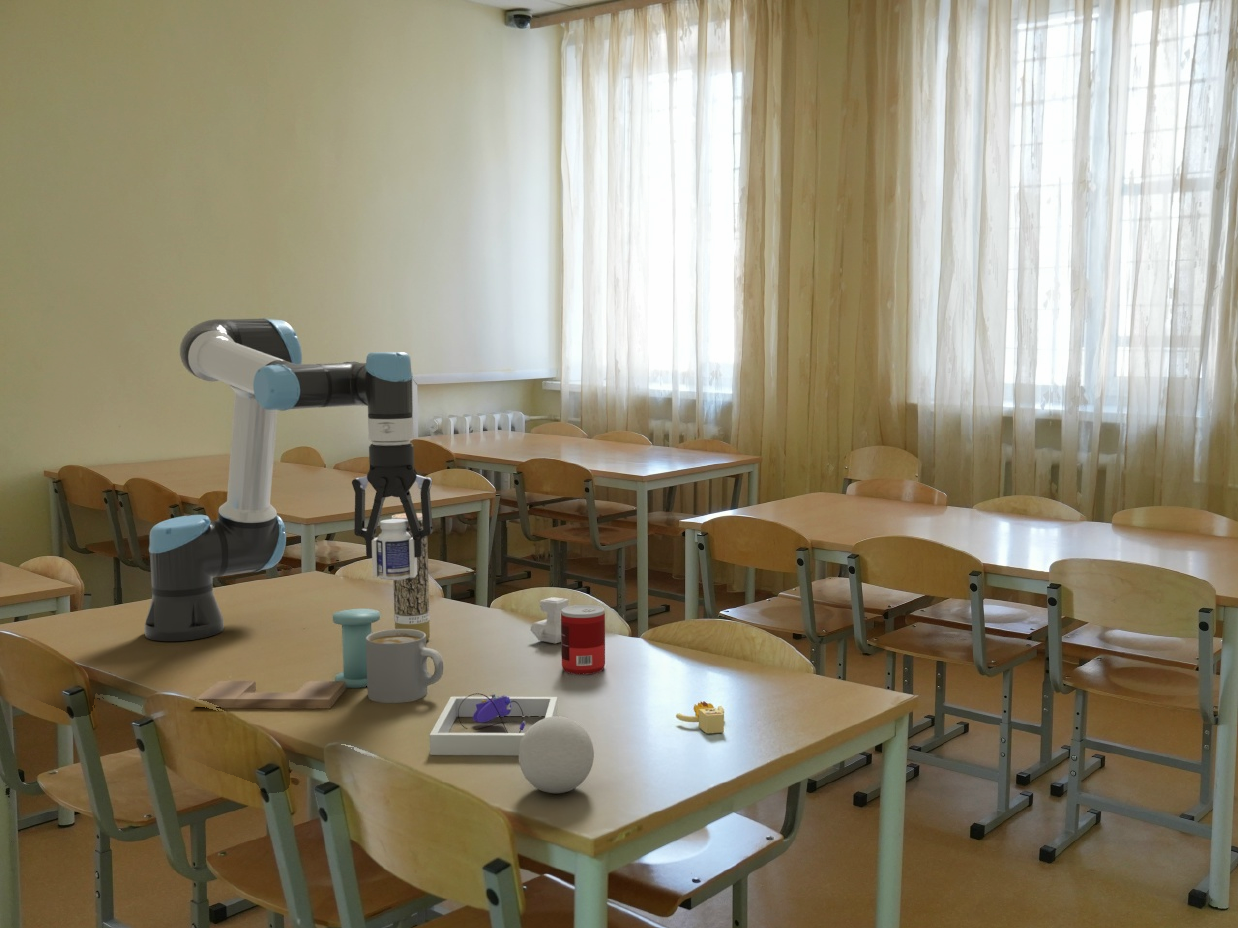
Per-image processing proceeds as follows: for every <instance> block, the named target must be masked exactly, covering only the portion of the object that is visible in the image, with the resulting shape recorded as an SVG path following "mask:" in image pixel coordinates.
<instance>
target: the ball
mask: <svg viewBox="0 0 1238 928" xmlns="http://www.w3.org/2000/svg"><path fill="white" fill-rule="evenodd" d="M524 733H525V734H524V736H523V738H522V740H521V743H520V747H519V755H518V762H519V766H520V770H521V772H522V774H523V776H524V778H525V779H526V780H527V781H528V783H529V784H531V786H533V787H535V789H537V790H540V791H542V792H544V793H549V794H557V795H558V794H564V793H567V792H570V791H572V790H574V789H576V788H577V787H579V786H580V785H582V783H583V782H584V781H585V780H586V779H587V777H589V774H590V773H591V771H592V768H593V764H594V758H595V757H594V756H595V751H594V745H593V742H592V738H591V736H590V735H589V733H588V731H587V730H586V729H585V728H584V727H583V726H582V725H581V724H580V723H579V722H577V721H575V720H574V719H571V718H569V717H566V716H562V715H561V716H560V715H559V716H553V717H547V718H545V717H543V718H542V719H540V720H538V721H536V722H535V723H533V724H532V725H531V726H530V727H529V728H528V729H527V730H526V732H524Z"/></svg>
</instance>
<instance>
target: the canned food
mask: <svg viewBox="0 0 1238 928" xmlns="http://www.w3.org/2000/svg"><path fill="white" fill-rule="evenodd" d="M605 612H606V611H605V608H604V607H602V606H600V605H595V604H575V605H568V606H566V607H565V608H563V609H562V610H561V613H560V618H561V642H560V644H561V645H560V646H561V650H560V651H561V653H560V654H561V667H562V670H563V671H564V672H566V673H567V674H572V675H591V674H596V673H600V672H602V671H604V669H605V665H606V616H605V615H606V613H605Z"/></svg>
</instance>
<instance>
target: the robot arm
mask: <svg viewBox="0 0 1238 928" xmlns="http://www.w3.org/2000/svg"><path fill="white" fill-rule="evenodd" d="M302 355H303V354H302V347H301V344H300V341H299V337H298V335H297V333H296V331H295V329H294V328H293V327H292V325H290V323H288V322H287V321H285V320H281V319H274V318H273V319H271V318H266V317H264V318H238V319H237V318H236V319H235V318H232V319H229V318H227V319H224V318H215V319H209V320H204V321H201V322H200V323H198V324H195V325H194V326H193V327H191V328H190V329H189V330H188V331H186V333H185V335H184V336H183V337H182V340H181V341H180V347H179V357H180V360H181V363H182V364H183V365H182V366H184V368H185V369H186V370H187V371H188V373H189V374H191V375H193V376H194V377H196V378H198V379H201V380H204V381H206V382H223V383H225V384H227V386H229V388H231V390H233V392H234V398H233V411H232V412H233V413H232V414H233V415H232V428H231V438H230V439H231V440H230V454H229V455H230V456H229V468H228V483H227V497H226V501H225V502H224V503H222V504H221V505H220V506H219V508H218V514H217V515H218V516H217V519H215V520H211V519H210V517H209V516H208V515H204V514H191V515H182V516H181V515H180V516H177V517H172V518H169V519H166V520H165V519H164V520H163V521H160V522H158V523H157V524H155V525H153V526H152V528H151V529H150V531H149V545H148V552H149V560H150V562H149V563H150V579H151V580H150V581H151V594H152V595H151V596H152V597H151V601H150V605H149V607H148V613H147V614H146V619H145V623H144V636H145V638H146V639H148V640H152V641H158V642H184V641H185V642H186V641H193V640H199V639H205V638H208V637H212V636H213V637H214V636H215V635H218V634H219V633H222V632H223V631H224V628H225V626H224V624H225V623H224V617H223V614H222V612H221V608H220V607H219V605H218V602H217V599H216V597H215V594H214V586H213V585H214V584H213V578H218V577H224V576H226V577H227V576H233V575H237V574H238V575H239V574H247V573H257V572H260V571H262V570H268V569H271V568H273V567H275V566H276V565H277V564H279V562H280V561H281V560H282V558H283V556H284V552H285V548H286V544H287V533H286V532H285V530H286V527H285V523H284V521H283V518H281V517H280V516H279V515H278V514H277V513H278V512H277V509H276V507H274V506H273V505H272V504H271V498H272V495H271V494H272V484H273V471H274V461H275V460H274V459H275V449H276V435H277V422H278V413H279V411H281V412H282V411H287V410H288V411H289V410H298V409H299V410H301V409H303V410H304V409H314V408H315V409H316V408H320V409H321V408H335V407H337V408H338V407H352V406H353V407H354V406H356V407H357V406H360V407H367V426H368V427H367V429H368V440H369V441H370V442H372V443H370V445H369V446H368V458H369V459H368V460H369V461H368V462H369V470H368V472H367V474H366V475H365V476H361V477H356V478H354V479H352V481H351V485H352V488H353V490H354V536H357V537H361V538H363V539H364V540H365V555H366V558H367V559H368V558H371V561H372V562H371V563H372V567H371V568H372V578H376V579H377V578H378V577H379V574H378V542H377V539H378V537H375V536H376V535H377V534H376V533H377V529H378V525H379V523H380V519H381V518H380V517H381V514H382V510H383V508H384V507H383V506H384V502H385V500H386V498H388V497H394V498H399V500H400V503H401V504H402V507H403V510H404V513H405V514H406V517H407V520H408V523H409V526H410V529H411V532H412V535H413V537H412V538H411V539H410V540H409V559H410V578H414V577H415V576H416V575H417V557H421V556H422V553H423V548H422V538H423V537H425V536H427V537H428V536H431V534H432V533H433V531H434V529H433V517H432V516H433V514H432V513H433V511H432V502H431V501H432V500H431V487H432V484H433V478H432V477H430V476H427V477H426V476H422V475H418V473H417V471H416V469H415V453H414V451H415V450H414V448H415V447H414V445H413V442H411V441H413V440H414V417H413V376H414V375H413V372H412V364H411V356H410V355H409V354H408V353H407V352H404V351H397V352H396V351H375V352H374V351H373V352H369V353H368V354H367V356H366V359H365V360H366V361H365V362H359V361H344V362H339V363H338V362H337V363H336V362H335V363H333V362H331V363H330V362H329V363H314V364H313V363H312V364H311V363H309V364H308V363H307V364H306V363H305V364H304V363H302V362H303V359H302V358H303V356H302ZM368 482H369V484H370V485H371V486H372V488H373V489H374V491H375V494H374V495H375V496H374V498H373V499H374V501H373V505H372V508H371V512H370V516H369V519H368V523H367V526H366V523H365V522H366V489H367V488H368ZM414 483H417V488H418V489H419V490H420V507H421V513H422V520H423V529H421V527H420V524H419V521H418V518H417V515H416V513H417V512H416V508H415V506H414V503H413V500H412V495H411V492H410V490H411V489H412V486H413V485H414ZM365 526H366V527H365Z"/></svg>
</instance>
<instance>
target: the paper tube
mask: <svg viewBox="0 0 1238 928" xmlns="http://www.w3.org/2000/svg"><path fill="white" fill-rule="evenodd" d="M416 515H417V518H418V521H419V524H420V527H421V529H423V520H422V512H416ZM391 519H405V520H407V517H406V514H405V512H404V513H395V514H393V515H391ZM407 521H408V520H407ZM406 531H407V532H408V533H409V534H410V536H411V538H412V537H413V535H412V532H411V529H410V526H409V523H408V527H407V528H406ZM428 542H429V541H428V536H425V537H423V538H422V548H423V553H422V556H421V557H417V575H416V576H415V577H414V578H410V577H409V578H406V579H401V580H392V581H393V609H394V610H393V612H394V613H393V614H394V629H413V630H418V631H422V632H424V633H425V634H426V642H428V640H429V639H430V638H431V633H430V632H431V629H430V589H429V588H430V585H429V552H428V551H429V547H428Z"/></svg>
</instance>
